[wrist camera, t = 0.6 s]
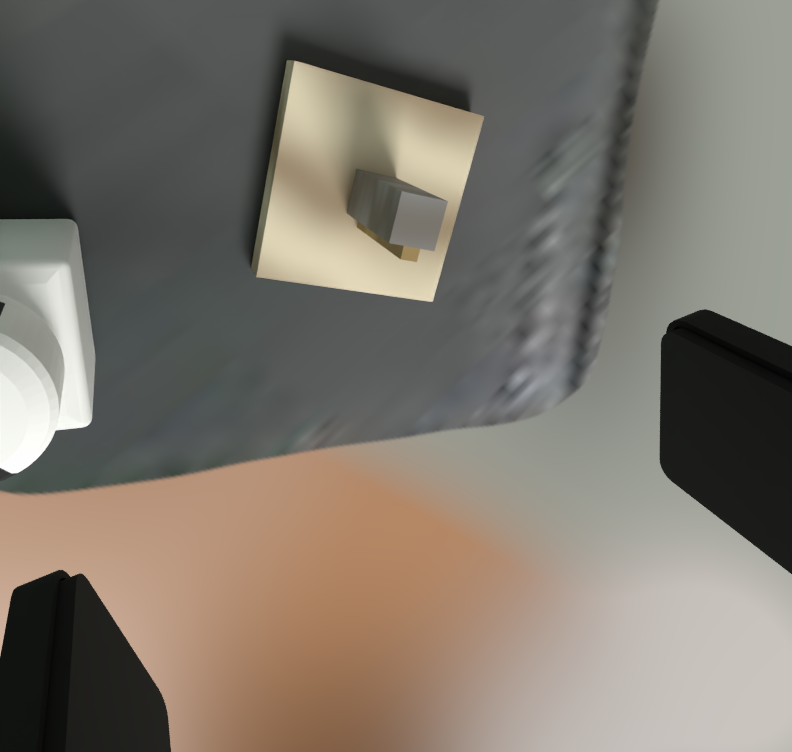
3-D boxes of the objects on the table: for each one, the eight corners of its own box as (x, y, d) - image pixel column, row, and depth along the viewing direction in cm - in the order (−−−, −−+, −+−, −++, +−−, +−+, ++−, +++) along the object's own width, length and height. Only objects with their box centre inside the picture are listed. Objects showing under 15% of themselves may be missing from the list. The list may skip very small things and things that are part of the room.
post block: (286, 59, 30) (332, 63, 24) (470, 114, 34) (550, 128, 28) (250, 268, 34) (282, 318, 27) (421, 293, 38) (483, 342, 32)
